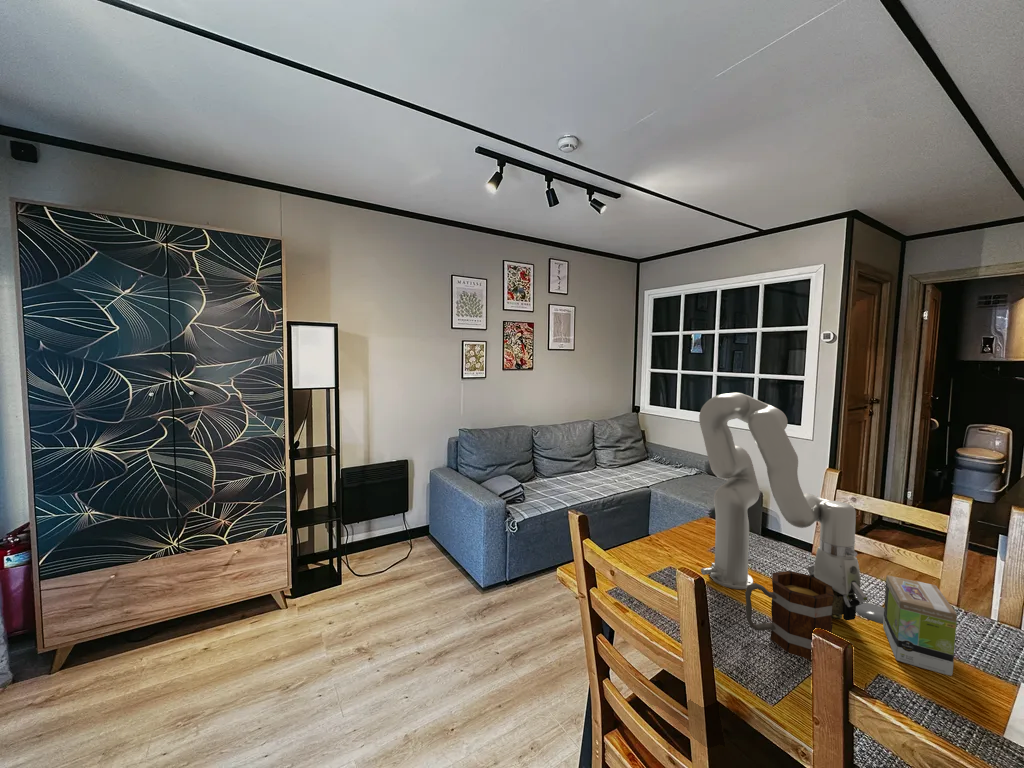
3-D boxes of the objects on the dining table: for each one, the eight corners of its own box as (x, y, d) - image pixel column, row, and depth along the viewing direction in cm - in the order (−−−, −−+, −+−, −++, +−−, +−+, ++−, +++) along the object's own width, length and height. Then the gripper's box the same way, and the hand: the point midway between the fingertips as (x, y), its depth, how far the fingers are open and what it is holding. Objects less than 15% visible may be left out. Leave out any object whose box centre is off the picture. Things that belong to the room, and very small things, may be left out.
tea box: (955, 678, 94) (958, 614, 93) (895, 661, 100) (898, 600, 99) (933, 640, 107) (937, 583, 106) (881, 627, 112) (884, 572, 111)
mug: (815, 628, 112) (817, 572, 111) (846, 664, 99) (848, 601, 98) (735, 620, 115) (736, 566, 114) (754, 654, 102) (756, 594, 101)
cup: (857, 626, 112) (858, 597, 112) (825, 623, 114) (826, 594, 113) (841, 610, 120) (842, 582, 119) (812, 607, 121) (813, 580, 121)
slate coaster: (879, 628, 112) (880, 625, 112) (843, 606, 122) (843, 604, 122) (910, 623, 114) (910, 621, 114) (872, 602, 124) (872, 600, 124)
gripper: (881, 561, 108) (878, 627, 109) (819, 533, 125) (817, 591, 126) (856, 564, 106) (853, 631, 107) (797, 535, 123) (795, 594, 124)
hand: (834, 609), depth 117 cm, fingers open, 7 cm apart
